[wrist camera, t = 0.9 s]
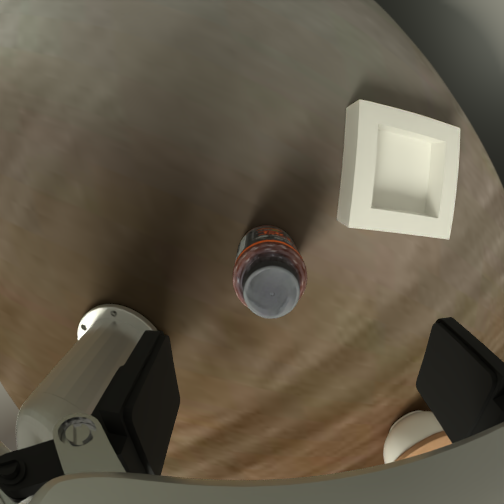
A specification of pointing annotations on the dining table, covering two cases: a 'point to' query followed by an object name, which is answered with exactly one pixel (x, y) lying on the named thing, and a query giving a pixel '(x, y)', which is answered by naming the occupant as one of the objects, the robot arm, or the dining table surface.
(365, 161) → the socket
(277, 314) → the supplement bottle
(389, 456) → the lidded bowl
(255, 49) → the dining table surface
